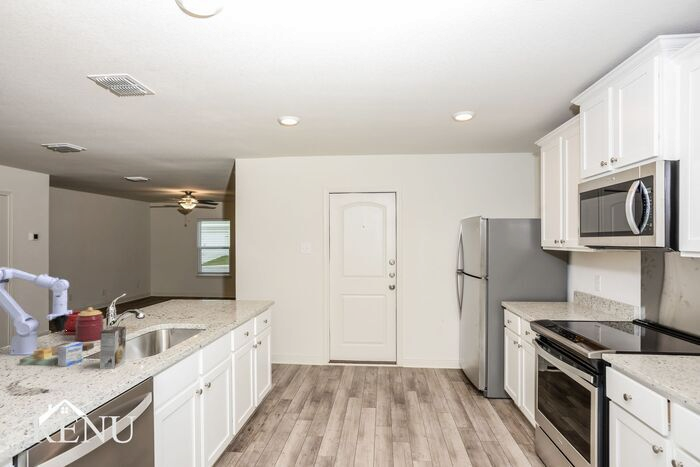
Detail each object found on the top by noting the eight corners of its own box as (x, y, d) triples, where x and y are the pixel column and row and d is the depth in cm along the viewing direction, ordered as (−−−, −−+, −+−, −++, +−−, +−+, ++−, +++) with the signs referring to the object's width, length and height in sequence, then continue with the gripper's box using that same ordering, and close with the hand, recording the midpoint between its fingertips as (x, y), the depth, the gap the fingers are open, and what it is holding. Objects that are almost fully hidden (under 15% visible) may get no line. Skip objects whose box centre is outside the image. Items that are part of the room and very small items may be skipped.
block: (33, 358, 163) (33, 350, 163) (41, 355, 168) (41, 347, 168) (43, 358, 163) (44, 350, 163) (51, 355, 168) (52, 347, 168)
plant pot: (69, 337, 209) (70, 315, 209) (58, 334, 216) (59, 313, 216) (94, 332, 220) (95, 312, 221) (83, 329, 227) (84, 309, 227)
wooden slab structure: (19, 365, 162) (19, 359, 162) (63, 347, 188) (63, 342, 188) (54, 365, 163) (54, 359, 163) (93, 347, 189) (93, 343, 189)
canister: (79, 343, 196) (80, 310, 197) (71, 339, 204) (72, 307, 204) (107, 338, 207) (107, 306, 207) (98, 334, 214) (99, 304, 215)
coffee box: (111, 361, 168) (111, 326, 168) (125, 361, 168) (126, 326, 168) (99, 368, 159) (99, 331, 159) (114, 368, 159) (115, 330, 159)
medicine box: (65, 367, 161) (66, 347, 161) (57, 366, 161) (57, 346, 162) (82, 361, 168) (82, 342, 168) (74, 360, 169) (74, 341, 169)
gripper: (57, 306, 178) (56, 334, 177) (78, 301, 192) (78, 327, 192) (42, 306, 178) (41, 335, 177) (64, 301, 192) (64, 327, 192)
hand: (59, 331), depth 185 cm, fingers closed
